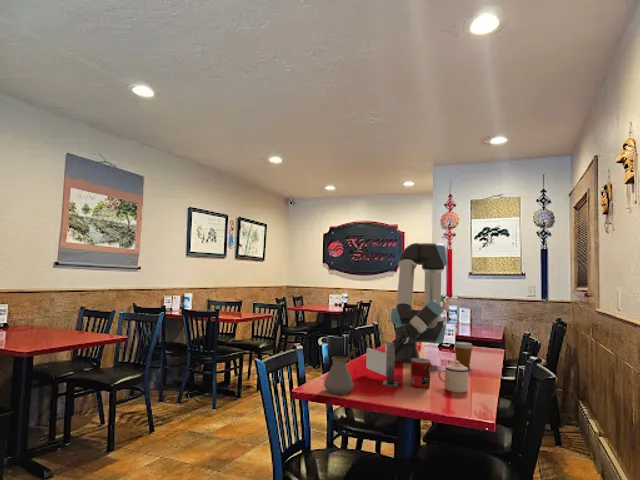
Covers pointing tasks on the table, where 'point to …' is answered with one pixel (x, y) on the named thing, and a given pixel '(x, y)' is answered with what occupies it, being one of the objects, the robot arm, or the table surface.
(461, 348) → the disposable coffee cup
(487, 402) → the table surface
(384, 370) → the swing panel
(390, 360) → the post
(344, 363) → the coffee pot
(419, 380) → the canned food
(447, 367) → the teacup with lid
